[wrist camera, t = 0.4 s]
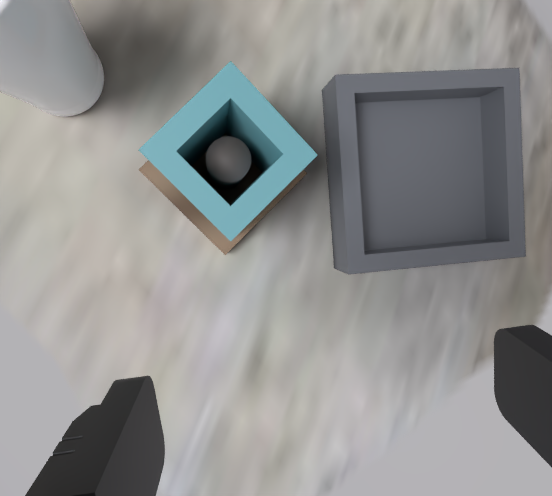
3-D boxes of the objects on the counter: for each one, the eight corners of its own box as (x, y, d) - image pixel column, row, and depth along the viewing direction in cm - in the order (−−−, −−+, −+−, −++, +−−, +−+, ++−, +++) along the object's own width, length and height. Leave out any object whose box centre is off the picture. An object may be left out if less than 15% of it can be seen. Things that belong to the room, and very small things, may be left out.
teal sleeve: (160, 170, 29) (138, 149, 21) (240, 92, 30) (253, 39, 21) (225, 234, 30) (230, 241, 21) (302, 157, 31) (339, 133, 22)
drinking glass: (88, 9, 30) (-36, -200, 15) (135, 105, 30) (62, -1, 16) (-10, 48, 29) (-244, -129, 14) (40, 145, 30) (-130, 75, 15)
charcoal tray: (321, 90, 32) (335, 74, 29) (487, 83, 34) (519, 67, 30) (334, 268, 33) (348, 274, 30) (494, 252, 35) (525, 256, 31)
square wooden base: (142, 172, 31) (118, 156, 23) (224, 92, 31) (228, 49, 23) (224, 253, 32) (228, 265, 24) (302, 175, 32) (332, 161, 24)
